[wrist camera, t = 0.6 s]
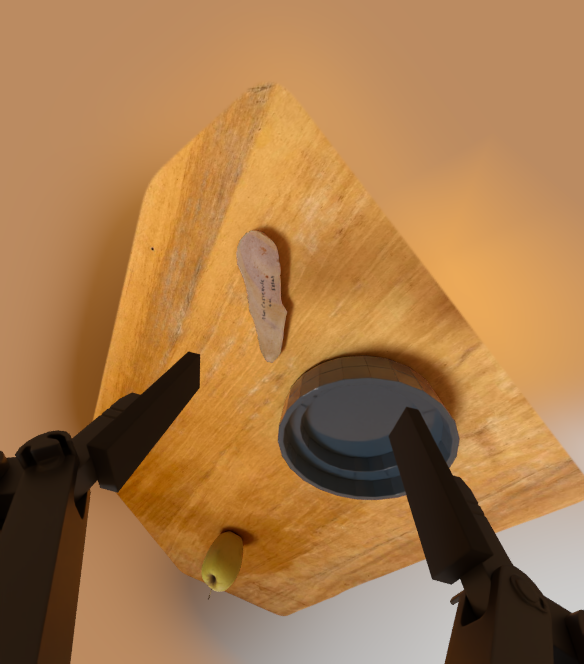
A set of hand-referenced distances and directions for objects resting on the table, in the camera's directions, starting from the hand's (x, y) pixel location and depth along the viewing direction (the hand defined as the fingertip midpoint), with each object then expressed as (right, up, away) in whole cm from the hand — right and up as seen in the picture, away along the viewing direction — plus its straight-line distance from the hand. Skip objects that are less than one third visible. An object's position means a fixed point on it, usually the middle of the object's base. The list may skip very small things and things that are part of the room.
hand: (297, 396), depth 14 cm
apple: (-14, -42, +37) cm, 58 cm away
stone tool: (-3, +8, +12) cm, 14 cm away
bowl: (+9, -8, +17) cm, 20 cm away
